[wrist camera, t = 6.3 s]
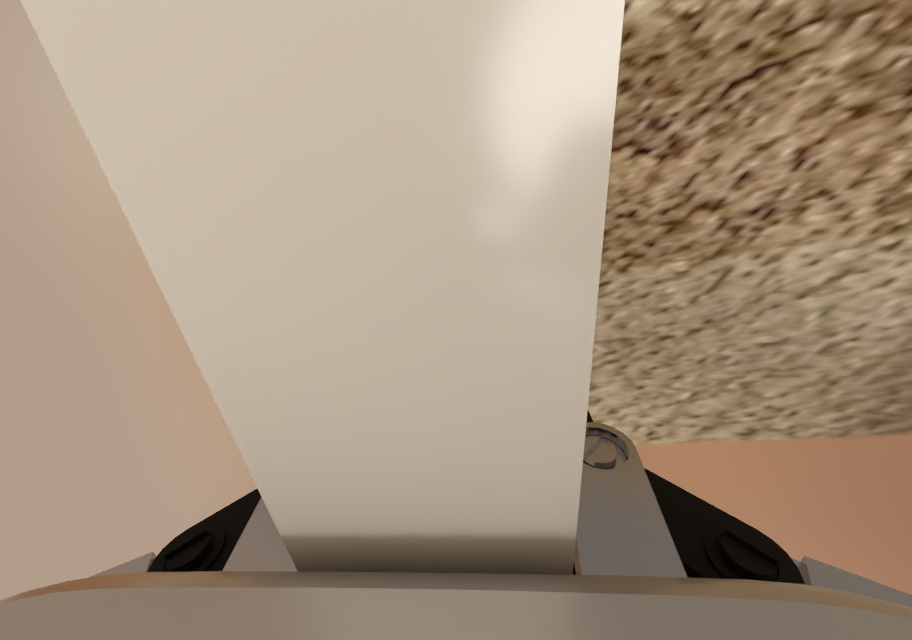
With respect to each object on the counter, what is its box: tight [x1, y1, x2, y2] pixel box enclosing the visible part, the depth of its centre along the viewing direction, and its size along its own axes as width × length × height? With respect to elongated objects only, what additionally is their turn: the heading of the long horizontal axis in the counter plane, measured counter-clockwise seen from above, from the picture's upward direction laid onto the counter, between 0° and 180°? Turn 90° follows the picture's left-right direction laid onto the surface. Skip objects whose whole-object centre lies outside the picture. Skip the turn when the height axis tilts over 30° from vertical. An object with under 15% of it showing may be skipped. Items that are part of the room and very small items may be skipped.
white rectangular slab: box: [20, 0, 625, 575], centre depth 9 cm, size 3×16×9 cm, turn 5°
